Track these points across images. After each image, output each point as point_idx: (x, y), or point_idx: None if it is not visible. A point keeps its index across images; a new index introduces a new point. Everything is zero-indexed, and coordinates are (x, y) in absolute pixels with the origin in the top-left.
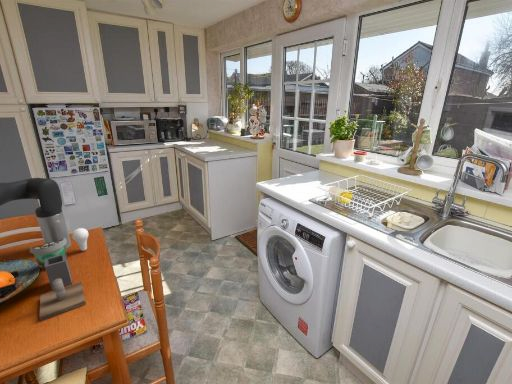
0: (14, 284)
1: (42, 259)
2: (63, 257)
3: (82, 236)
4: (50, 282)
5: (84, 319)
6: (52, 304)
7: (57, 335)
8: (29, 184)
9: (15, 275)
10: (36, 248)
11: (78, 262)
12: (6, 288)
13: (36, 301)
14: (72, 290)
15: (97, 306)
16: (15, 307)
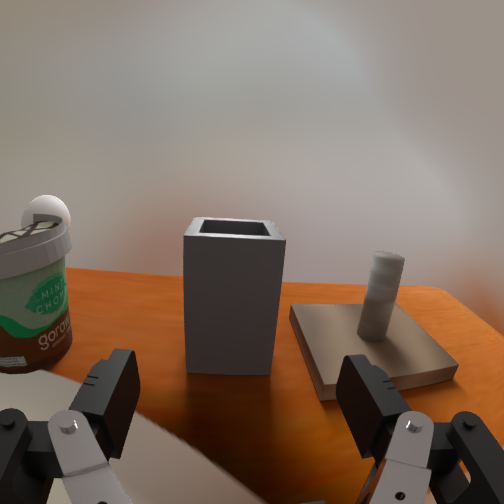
0: (356, 355)
1: (32, 311)
2: (231, 219)
3: (68, 218)
4: (274, 335)
5: (444, 316)
6: (401, 349)
7: (489, 343)
8: None
9: (135, 386)
10: None
11: (113, 308)
12: (388, 389)
13: (330, 414)
14: (335, 318)
15: (404, 303)
16: (344, 483)
